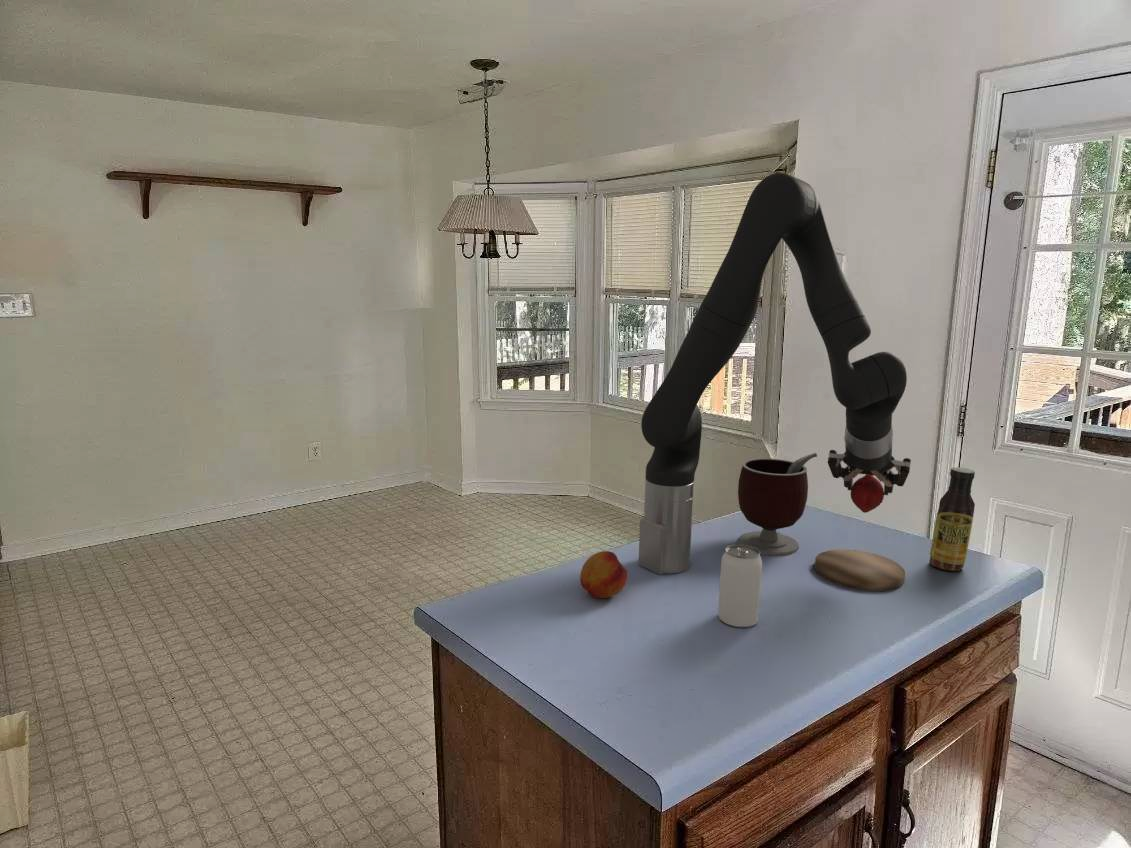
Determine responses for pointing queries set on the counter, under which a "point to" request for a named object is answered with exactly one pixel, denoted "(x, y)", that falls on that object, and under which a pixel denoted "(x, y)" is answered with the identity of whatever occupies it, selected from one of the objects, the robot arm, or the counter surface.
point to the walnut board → (859, 570)
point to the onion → (867, 493)
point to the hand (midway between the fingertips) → (868, 488)
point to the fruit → (603, 575)
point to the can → (740, 586)
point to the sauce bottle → (953, 522)
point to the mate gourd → (772, 501)
